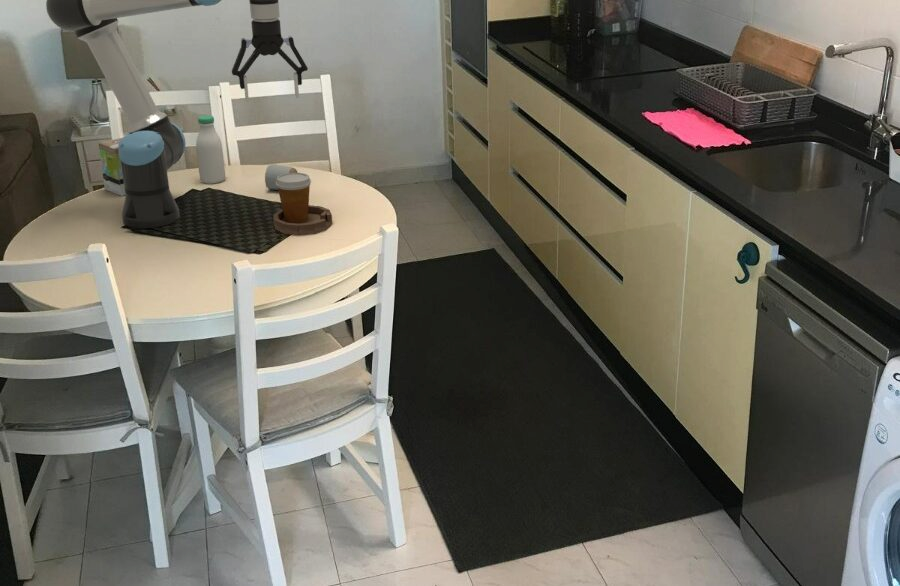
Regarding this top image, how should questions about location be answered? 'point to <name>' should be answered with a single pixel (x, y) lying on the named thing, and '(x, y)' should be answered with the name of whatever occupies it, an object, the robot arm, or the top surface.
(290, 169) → the ceramic mug
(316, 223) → the round brown ashtray
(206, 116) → the milk bottle
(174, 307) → the top surface
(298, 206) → the disposable coffee cup
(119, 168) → the tea box
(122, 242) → the top surface
